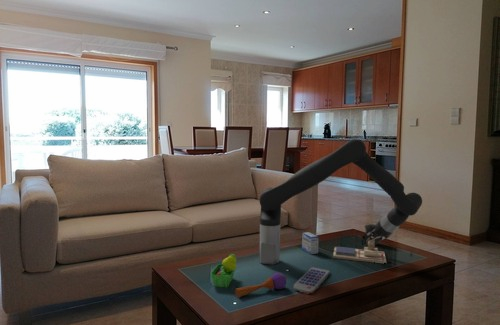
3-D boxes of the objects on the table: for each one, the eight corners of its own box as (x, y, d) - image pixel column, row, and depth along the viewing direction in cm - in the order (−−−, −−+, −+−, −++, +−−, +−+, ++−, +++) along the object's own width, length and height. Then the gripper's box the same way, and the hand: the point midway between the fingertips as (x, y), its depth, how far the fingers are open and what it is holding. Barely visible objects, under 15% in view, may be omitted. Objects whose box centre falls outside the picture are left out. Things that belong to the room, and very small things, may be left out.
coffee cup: (364, 245, 186) (365, 226, 185) (363, 240, 194) (364, 222, 193) (380, 246, 184) (381, 227, 183) (379, 242, 192) (379, 223, 191)
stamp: (377, 257, 164) (378, 239, 164) (364, 256, 166) (365, 238, 165) (377, 253, 170) (377, 236, 169) (364, 252, 172) (364, 235, 171)
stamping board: (386, 263, 160) (386, 261, 160) (332, 258, 166) (333, 255, 166) (384, 253, 173) (384, 251, 173) (334, 248, 180) (334, 246, 180)
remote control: (329, 275, 148) (329, 270, 147) (311, 296, 128) (312, 290, 128) (311, 271, 152) (311, 266, 151) (291, 291, 132) (291, 285, 132)
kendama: (232, 283, 128) (279, 269, 137) (235, 299, 128) (282, 285, 137) (239, 286, 123) (288, 272, 132) (241, 303, 123) (290, 288, 132)
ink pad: (355, 256, 166) (355, 254, 166) (335, 254, 168) (335, 251, 168) (355, 250, 174) (355, 248, 174) (336, 248, 177) (336, 246, 177)
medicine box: (301, 249, 178) (302, 232, 177) (309, 248, 180) (309, 231, 179) (310, 254, 171) (311, 237, 170) (318, 253, 173) (318, 235, 172)
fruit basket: (218, 275, 144) (218, 248, 143) (239, 277, 143) (239, 250, 142) (210, 287, 133) (210, 258, 132) (233, 289, 132) (233, 260, 131)
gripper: (396, 216, 162) (376, 234, 174) (371, 218, 157) (353, 237, 168) (404, 230, 158) (384, 247, 169) (380, 233, 152) (360, 251, 164)
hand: (369, 242), depth 169 cm, fingers open, 8 cm apart
